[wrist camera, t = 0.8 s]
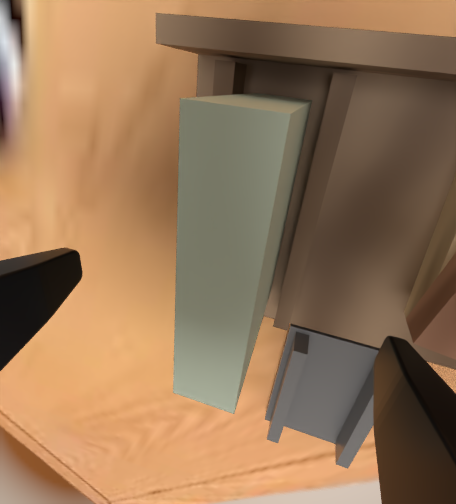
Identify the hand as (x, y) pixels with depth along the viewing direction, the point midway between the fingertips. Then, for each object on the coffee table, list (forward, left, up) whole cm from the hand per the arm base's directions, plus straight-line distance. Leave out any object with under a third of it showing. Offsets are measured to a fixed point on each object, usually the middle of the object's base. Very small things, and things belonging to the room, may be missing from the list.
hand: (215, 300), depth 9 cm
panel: (0, 0, -8) cm, 8 cm away
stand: (-6, +12, -9) cm, 16 cm away
